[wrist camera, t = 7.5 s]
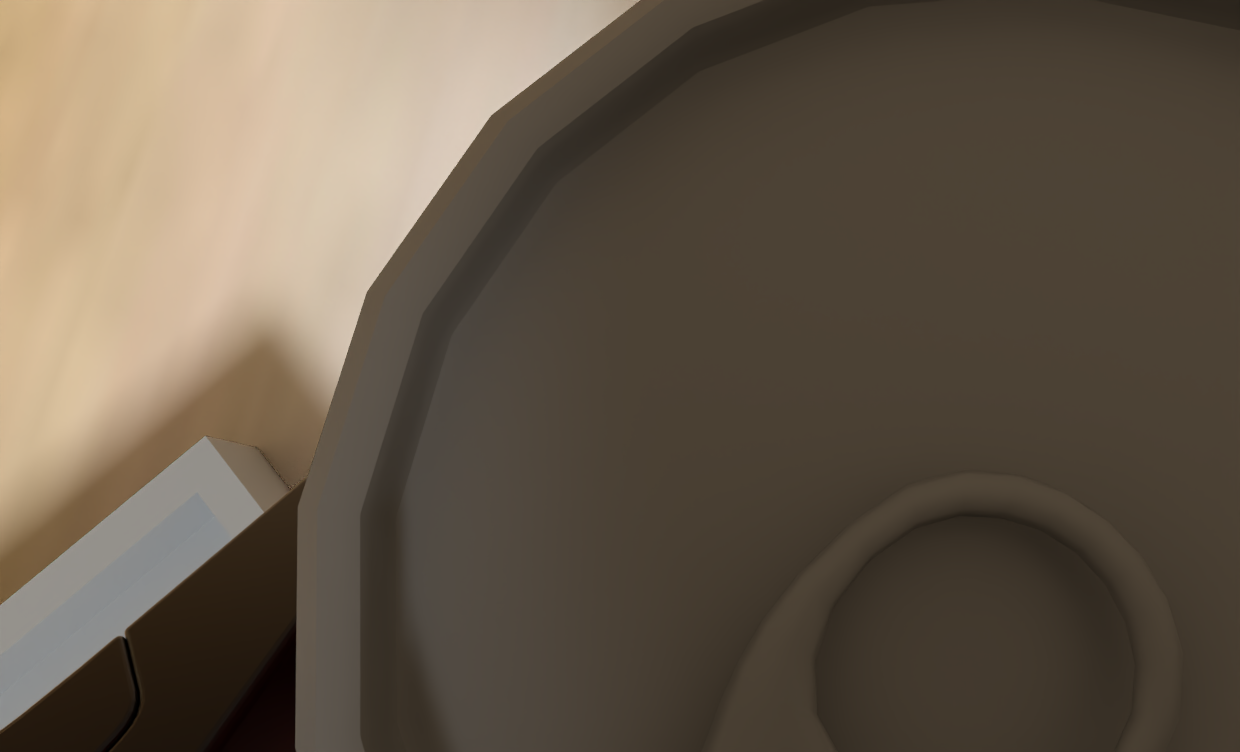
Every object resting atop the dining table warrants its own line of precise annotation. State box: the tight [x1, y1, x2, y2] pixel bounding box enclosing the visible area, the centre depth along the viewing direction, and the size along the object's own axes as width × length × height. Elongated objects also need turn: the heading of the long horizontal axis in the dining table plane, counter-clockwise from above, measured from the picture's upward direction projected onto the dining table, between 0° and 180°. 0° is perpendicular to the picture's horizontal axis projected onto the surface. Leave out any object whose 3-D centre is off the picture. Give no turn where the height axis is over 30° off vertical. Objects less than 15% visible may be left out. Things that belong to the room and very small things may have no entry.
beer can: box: [295, 0, 1240, 752], centre depth 9 cm, size 7×7×12 cm
